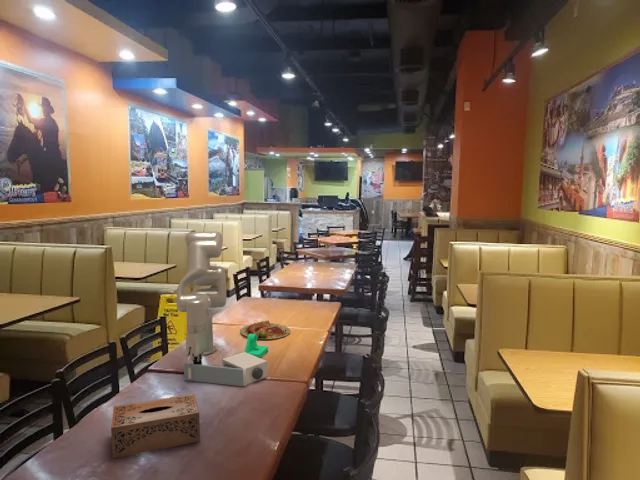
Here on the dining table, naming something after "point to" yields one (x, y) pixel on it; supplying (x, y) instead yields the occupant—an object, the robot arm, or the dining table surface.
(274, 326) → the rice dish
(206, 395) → the dining table surface
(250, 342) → the camera mount
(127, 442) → the tissue box cover
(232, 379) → the side door
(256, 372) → the block
